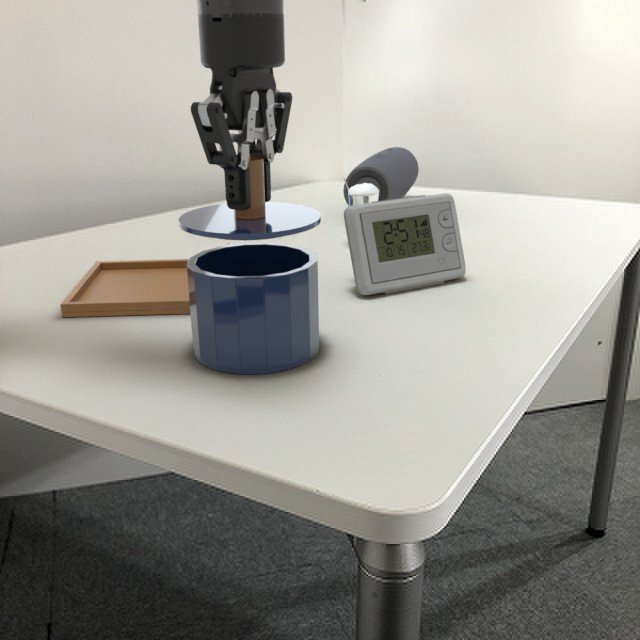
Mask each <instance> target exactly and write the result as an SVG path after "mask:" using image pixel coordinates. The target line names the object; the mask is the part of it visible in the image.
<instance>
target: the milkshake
mask: <svg viewBox="0 0 640 640" xmlns="http://www.w3.org/2000/svg"><path fill="white" fill-rule="evenodd" d="M342 179H343V181H344V184H346V186H347V189H348V196H349V206H352V205H359V204H367V203H371V202H374V201H378V197H379V190H378V188H377V187H376V186H374V185H373V184H370V183H369V184H368V183H363V184H357V185H355V186H352V187H351V188H350V189H349V188H348V185H347V183H346V178H345V176H343V177H342ZM349 206H348V207H349Z"/></svg>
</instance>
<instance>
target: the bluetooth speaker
mask: <svg viewBox="0 0 640 640" xmlns="http://www.w3.org/2000/svg"><path fill="white" fill-rule="evenodd" d="M419 167H420V166H419V162H418V160H417V158H416V156H415V155H414V154H413V153H412V151H410V150H408V149H407V148H405V147H401V146H393V147H388V148H385V149H383V150H380V151H378V152H376V153H373V155H370V156H369V157H367V158H365V160H363V161H361V162H360V163H359V164H358V165H357V166H355V167H354V168H353V169H352V170H351V171H350V172H349V174H348V175H347V177H346V178H345V180H346V183H347V185H348V188H349V189H350V188H351V187H352V186H355V185H357V184H363V183H368V184H369V183H370V184H373V185H374V186H376V187H377V188H378V190H379V197H378V201H382V200H390V199H398V198H405V196H406V195H407V194H408V192H409V191H410V190H411V189H412V187H413V186H414V184H415V183H416V181H417V179H418V177H419V172H420V169H419ZM342 191H343V197H344V200H345V202H346V204H347V207H349V196H348V189H347V186H346V184H345V183H344V184H343V190H342Z"/></svg>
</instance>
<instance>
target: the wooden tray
mask: <svg viewBox="0 0 640 640" xmlns="http://www.w3.org/2000/svg"><path fill="white" fill-rule="evenodd" d="M189 259H190V258H182V259H180V258H179V259H176V258H175V259H143V260H142V259H141V260H139V259H138V260H103V261H102V260H100V261H99V260H97V261H95V262H94V264H93V265H92V266H91V267H90V268H89V269H88V271H87V272H86V273H85V274H84V275H83V277H81V279H80V280H79V282H78V283H77V284H76V285H75V286H74V287H73V289H72V290H71V291H70V292H69V293H68V294H67V296H66V297H65V298H64V299H63V301H62V302H61V303H60V311H61V317H62V318H84V317H85V318H86V317H87V318H88V317H119V316H121V317H122V316H124V317H125V316H155V315H156V316H157V315H189V314H190V315H191V313H190V301H189V288H188V276H187V263H188V261H189Z"/></svg>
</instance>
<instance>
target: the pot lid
mask: <svg viewBox="0 0 640 640" xmlns="http://www.w3.org/2000/svg"><path fill="white" fill-rule="evenodd" d="M247 170H249V175H250V199H251V206H250V208H249V209H246V210H234V209H230V208H229V207H228V206H227V202H225V203H219V204H212V205H207V206H202V207H197V208H195V209H191V210H188V211H187V212H185V213H182V214H181V215H180V216H179V217H178V220H177V222H178V227H179V228H180V230H182V231H183V232H186V233H188V234H191V235H195V236H198V237H203V238H209V239H212V238H213V239H219V240H225V241H226V240H227V241H261V240H270V239H277V238H282V237H286V236H293V235H297V234H300V233H304V232H307V231H310V230H313V229H314V228H316V227H318V226H319V225H320V224H321V222H322V215H321V212H320V211H318V210H317V209H315V208H312V207H309V206H306V205H303V204H295V203H289V202H281V201H268V202H265V182H264V159H263V158H262V157H257V156H249V162H248V167H247Z"/></svg>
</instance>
